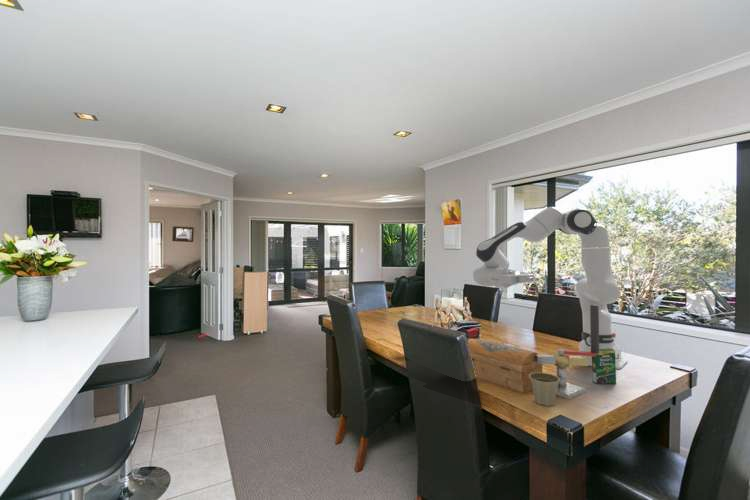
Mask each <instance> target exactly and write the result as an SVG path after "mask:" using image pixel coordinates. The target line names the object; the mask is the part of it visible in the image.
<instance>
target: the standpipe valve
mask: <svg viewBox="0 0 750 500" xmlns="http://www.w3.org/2000/svg"><path fill="white" fill-rule="evenodd" d="M536 362H537V363H539V364H542V365H543V364H544V365H554V366H555V367H556V376H557V377H558V378H559V379H560V381H559V382H558V385H557V390H556V396H558V397H561V398H564V399H567V400H570V399H573V398H575V397H577V396H580V395H581V394H584V393H586V387H583V386H579V385H576V384H572V383H570V382H568V381H567V368H569V367H570V366H581V367H582V366H583V367H589V365H588V358H586V357H580V356H579V355H558V352H557V353H556V352H555V353H553V354H552V355H551V354H539V355H537V354H536Z"/></svg>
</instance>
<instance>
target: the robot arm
mask: <svg viewBox="0 0 750 500" xmlns="http://www.w3.org/2000/svg"><path fill="white" fill-rule="evenodd" d="M556 230H558V231H559V232H561V233H564V234H566V235H576V234H577V235H578V236H579V238H580V241H581V243H580V245H581V266H582V267H583V270H584V272H585V277H584V278H582V279H580V280H578V281H577V282H576V285H575V291H576V293H577V295H578V299H579V304H580V308H581V312H582V313H581V315H582V331H581V339H582V340H581V341H579V344H578V345H579V346H578V351H588V352H591V329H590V305H598V306H599V349H610V348H611V349H613V350H615V362H616V370H617V369H618V370H621V369H623V367H624V366H625V365H626V364H627V363H628V359H626V358H623V357H622V349H621V347H619V346H618V345H617V344H616V343H615V342H614V341H615V338H616V333H615V332H612V316H611V314H610V311H609V309H608V306H607V305H610V304H614V303H615V302H617V301H618V300H619V298H621V290H620V288H619V286H618V284H617V283H616V280H615V277H614V274H613V270H612V265H611V247H610V238H609V233H608V229H607V227H606V226H605V225H603V224H600V223H598V222H597V220H596V219H595V217H594V215H593V214H592V212H591V211H589V210H588V209H585V208H575V209H571V210H569V211H566V212H562V210H561V209H559V208H557V207H556V206H548V207H546V208H545V209H542V210H541V211H540V212H538V213H537V214H536V215H534V216H533V217H532V218H530V219H528V220H526V221H524V222H523V221H522V222H521V221H520V222H516V223H514V224H512V225H509V226H508V227H507V228H505V229H503V230H502V231H500V232H499V233H497V234H496V235H493V236H492V237H490V238H488V239H486V240H484V241H482V242H481V243H479V244H478V246H477V248H476V253H475V254H476V257H477V258H478V259H479V260H480V261H481V262H482V263H484V264H483V265H482V266H480V267H477V268H475V269H474V270H473V272H472V277H473V280H474V282H475V283H476V284H478V285H480V286H485V287H495V288H503V289H504V288H505V289H508V288H510V287H512V286H515V285H518V284H524V283H534V282H535V280H536V277H535V274H534V273H531V272H524V271H519V270H517V269H516V270H515V269H511V268H509V266H510V261H509V260H508V258H507V257H506V255H505V254H504V253H503V252H502V251H501V250H500V247H501V246H503V245H505V244H506V243H508V242H509V241H511V240H513V239H515V238H521V239H523V240H524V241H527V242H530V243H535V244H536V243H541V242H543V240H545V239H546V238H548V237H549V236H550V235H552V233H553V232H555V231H556ZM580 357H586V358H588V367H592V356H580Z"/></svg>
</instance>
